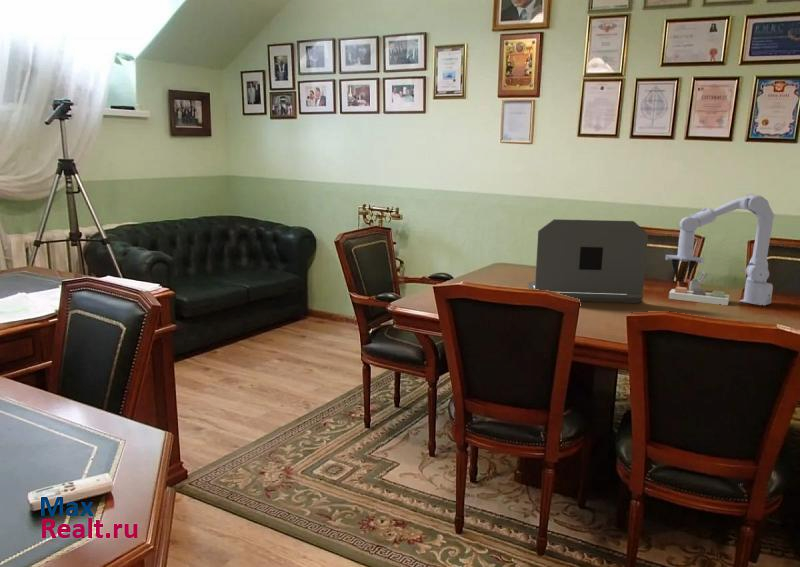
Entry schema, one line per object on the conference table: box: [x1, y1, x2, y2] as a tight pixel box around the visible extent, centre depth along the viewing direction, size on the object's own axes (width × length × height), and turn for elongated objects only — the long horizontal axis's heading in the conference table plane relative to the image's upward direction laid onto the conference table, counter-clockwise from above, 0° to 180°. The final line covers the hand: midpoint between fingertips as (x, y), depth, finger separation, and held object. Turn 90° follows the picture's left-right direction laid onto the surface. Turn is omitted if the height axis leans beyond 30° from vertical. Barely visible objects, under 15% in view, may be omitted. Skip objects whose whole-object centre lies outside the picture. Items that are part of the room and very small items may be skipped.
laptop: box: [527, 218, 649, 304], centre depth 261 cm, size 43×31×34 cm
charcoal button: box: [693, 288, 707, 296], centre depth 256 cm, size 4×4×3 cm
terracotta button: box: [674, 286, 688, 294], centre depth 259 cm, size 4×4×3 cm
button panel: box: [668, 288, 730, 306], centre depth 256 cm, size 22×9×2 cm, turn 60°
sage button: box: [711, 290, 725, 298], centre depth 252 cm, size 4×4×3 cm
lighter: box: [688, 272, 708, 291], centre depth 273 cm, size 7×2×8 cm, turn 100°
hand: (682, 278), depth 258 cm, fingers open, 4 cm apart
